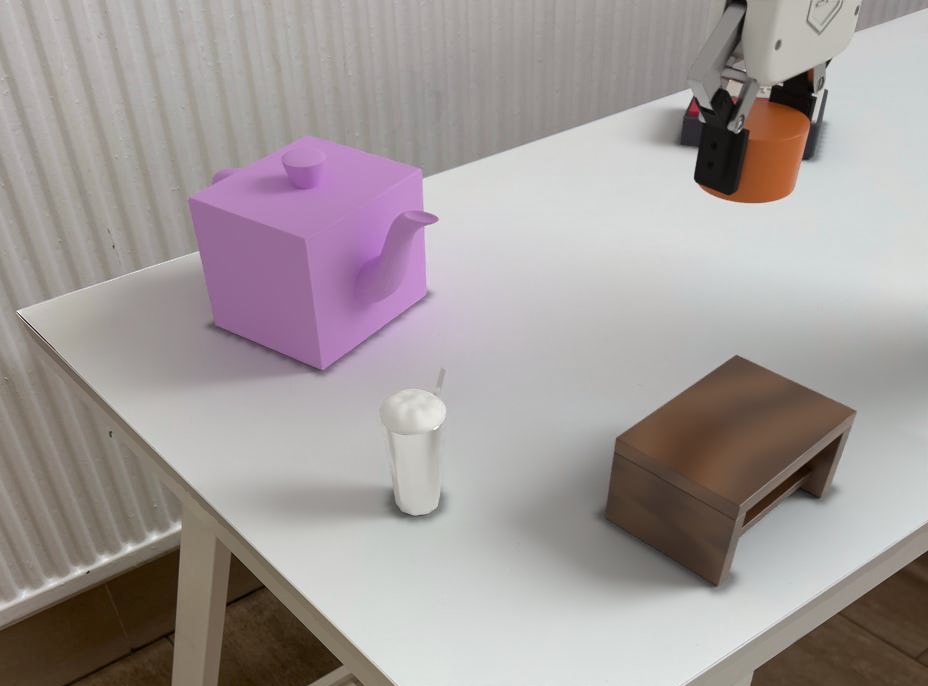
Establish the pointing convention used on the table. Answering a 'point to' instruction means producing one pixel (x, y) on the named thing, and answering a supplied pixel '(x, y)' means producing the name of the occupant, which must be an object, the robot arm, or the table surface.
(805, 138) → the orange cylinder puck
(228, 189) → the teapot
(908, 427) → the table surface
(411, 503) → the milkshake
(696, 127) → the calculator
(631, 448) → the brown wooden step stool
